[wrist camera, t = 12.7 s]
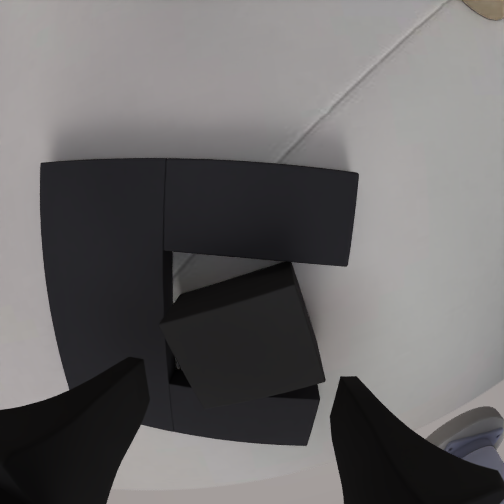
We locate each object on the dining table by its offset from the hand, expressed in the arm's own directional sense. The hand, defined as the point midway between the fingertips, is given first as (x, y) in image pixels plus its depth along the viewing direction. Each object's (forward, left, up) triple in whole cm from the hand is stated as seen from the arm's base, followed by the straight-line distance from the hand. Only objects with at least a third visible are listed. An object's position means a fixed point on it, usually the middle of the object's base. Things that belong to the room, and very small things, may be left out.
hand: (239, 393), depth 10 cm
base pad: (0, +4, -6) cm, 7 cm away
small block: (0, 0, -6) cm, 6 cm away
